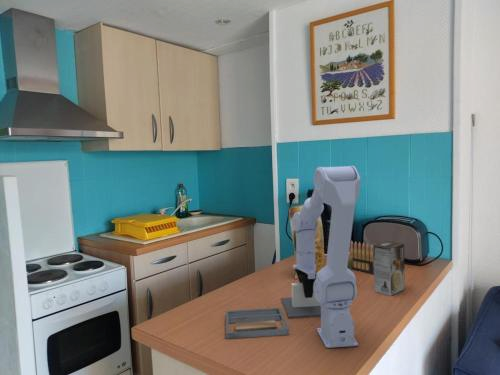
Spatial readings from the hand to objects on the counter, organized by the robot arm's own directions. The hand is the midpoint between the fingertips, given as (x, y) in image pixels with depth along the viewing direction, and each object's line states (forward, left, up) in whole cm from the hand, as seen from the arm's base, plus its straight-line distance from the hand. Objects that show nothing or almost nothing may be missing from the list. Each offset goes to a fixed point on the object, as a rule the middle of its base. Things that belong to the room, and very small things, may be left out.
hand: (306, 294), depth 110 cm
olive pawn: (+16, -18, -4) cm, 24 cm away
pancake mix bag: (+31, -8, -4) cm, 32 cm away
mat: (0, 0, -4) cm, 4 cm away
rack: (-10, +17, -4) cm, 20 cm away
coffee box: (+10, -31, -4) cm, 33 cm away
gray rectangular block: (0, 0, -4) cm, 4 cm away
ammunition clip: (+31, -30, -4) cm, 43 cm away
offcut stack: (-14, +17, -5) cm, 22 cm away
